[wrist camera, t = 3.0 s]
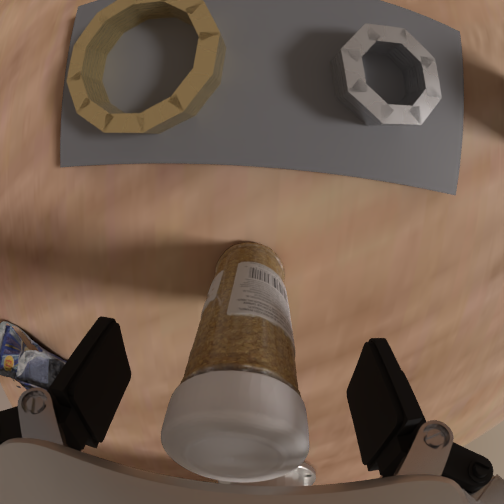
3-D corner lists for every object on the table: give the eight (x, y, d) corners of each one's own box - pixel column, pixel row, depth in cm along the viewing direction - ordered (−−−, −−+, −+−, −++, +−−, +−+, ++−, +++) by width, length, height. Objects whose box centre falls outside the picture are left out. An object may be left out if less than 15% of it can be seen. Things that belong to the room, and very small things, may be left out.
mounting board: (449, 36, 13) (459, 31, 11) (444, 191, 17) (455, 195, 16) (88, 12, 13) (78, 6, 12) (72, 164, 17) (60, 167, 16)
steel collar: (432, 85, 13) (454, 80, 11) (385, 145, 15) (404, 146, 13) (366, 23, 12) (380, 8, 10) (312, 80, 14) (321, 69, 11)
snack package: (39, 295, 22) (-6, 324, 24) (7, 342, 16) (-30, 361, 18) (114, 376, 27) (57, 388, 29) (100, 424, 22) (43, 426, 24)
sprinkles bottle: (202, 264, 20) (127, 437, 7) (259, 226, 18) (250, 396, 6) (243, 313, 21) (223, 494, 8) (298, 280, 20) (336, 465, 7)
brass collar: (255, 43, 13) (254, 28, 11) (163, 160, 16) (147, 164, 13) (146, -11, 12) (132, -28, 9) (69, 94, 14) (46, 91, 12)
